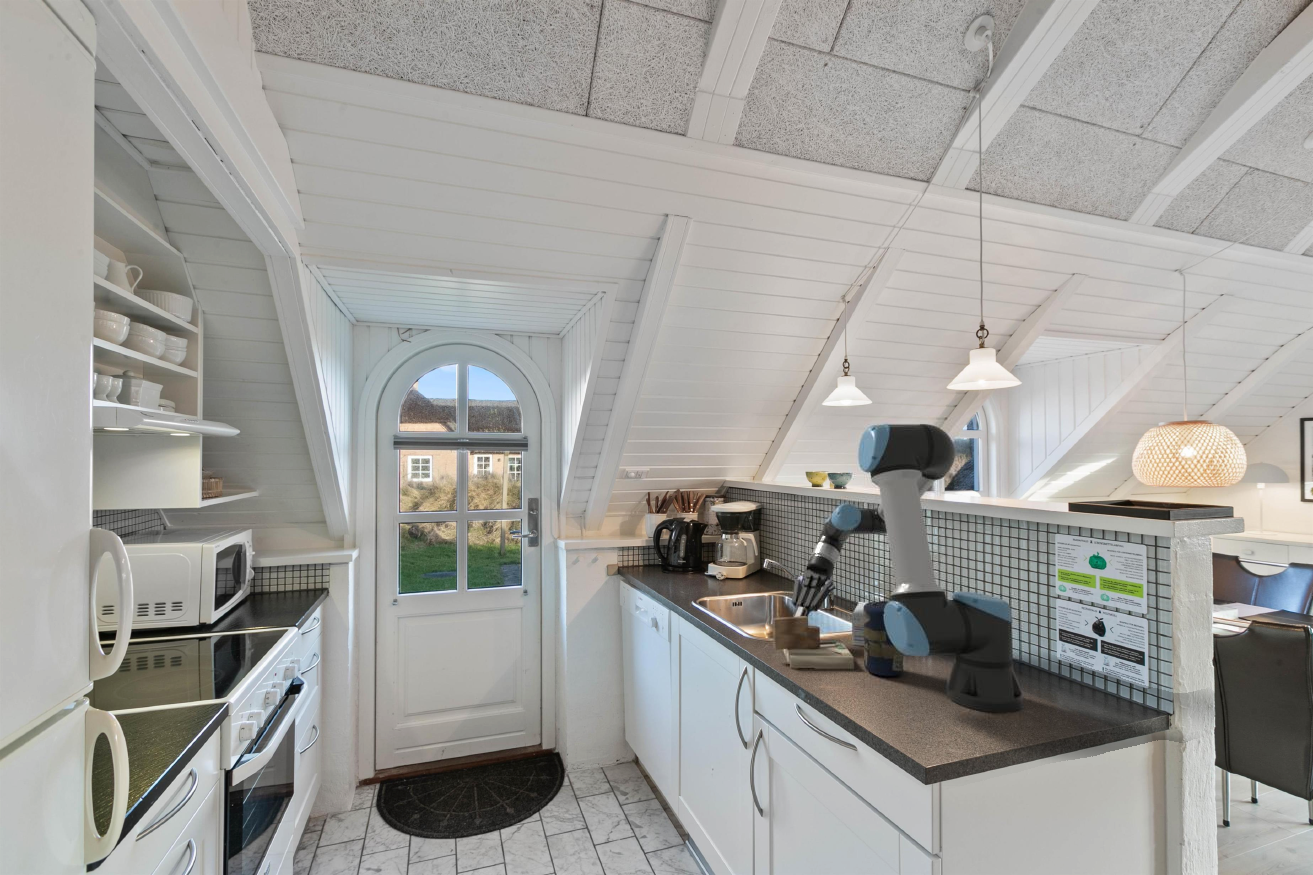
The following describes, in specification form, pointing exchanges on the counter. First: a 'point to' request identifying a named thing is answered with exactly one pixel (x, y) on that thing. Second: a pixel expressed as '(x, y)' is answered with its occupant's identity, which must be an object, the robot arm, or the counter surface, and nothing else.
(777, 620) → the brown stepped wooden block
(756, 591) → the counter surface
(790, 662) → the dial board
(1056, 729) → the counter surface
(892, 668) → the canister
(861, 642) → the supplement box
